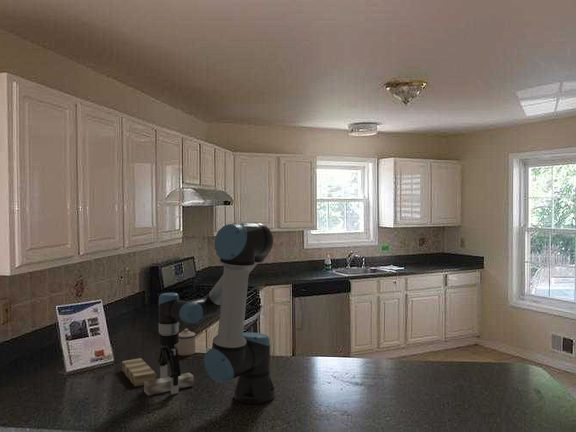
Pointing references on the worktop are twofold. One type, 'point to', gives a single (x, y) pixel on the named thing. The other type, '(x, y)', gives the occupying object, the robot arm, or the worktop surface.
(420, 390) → the worktop surface
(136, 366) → the oak floor row
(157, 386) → the plank
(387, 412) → the worktop surface
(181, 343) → the teacup with lid
